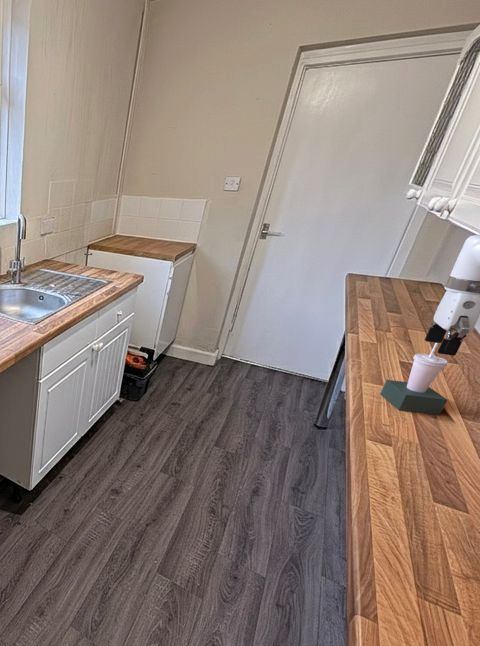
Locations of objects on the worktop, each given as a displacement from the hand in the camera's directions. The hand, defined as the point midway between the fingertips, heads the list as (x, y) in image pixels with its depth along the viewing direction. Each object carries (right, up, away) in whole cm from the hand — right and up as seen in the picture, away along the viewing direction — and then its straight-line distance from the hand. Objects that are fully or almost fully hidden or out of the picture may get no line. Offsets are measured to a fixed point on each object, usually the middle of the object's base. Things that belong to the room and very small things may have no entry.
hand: (438, 347), depth 110 cm
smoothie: (0, -12, +6) cm, 13 cm away
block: (0, -16, +8) cm, 18 cm away
